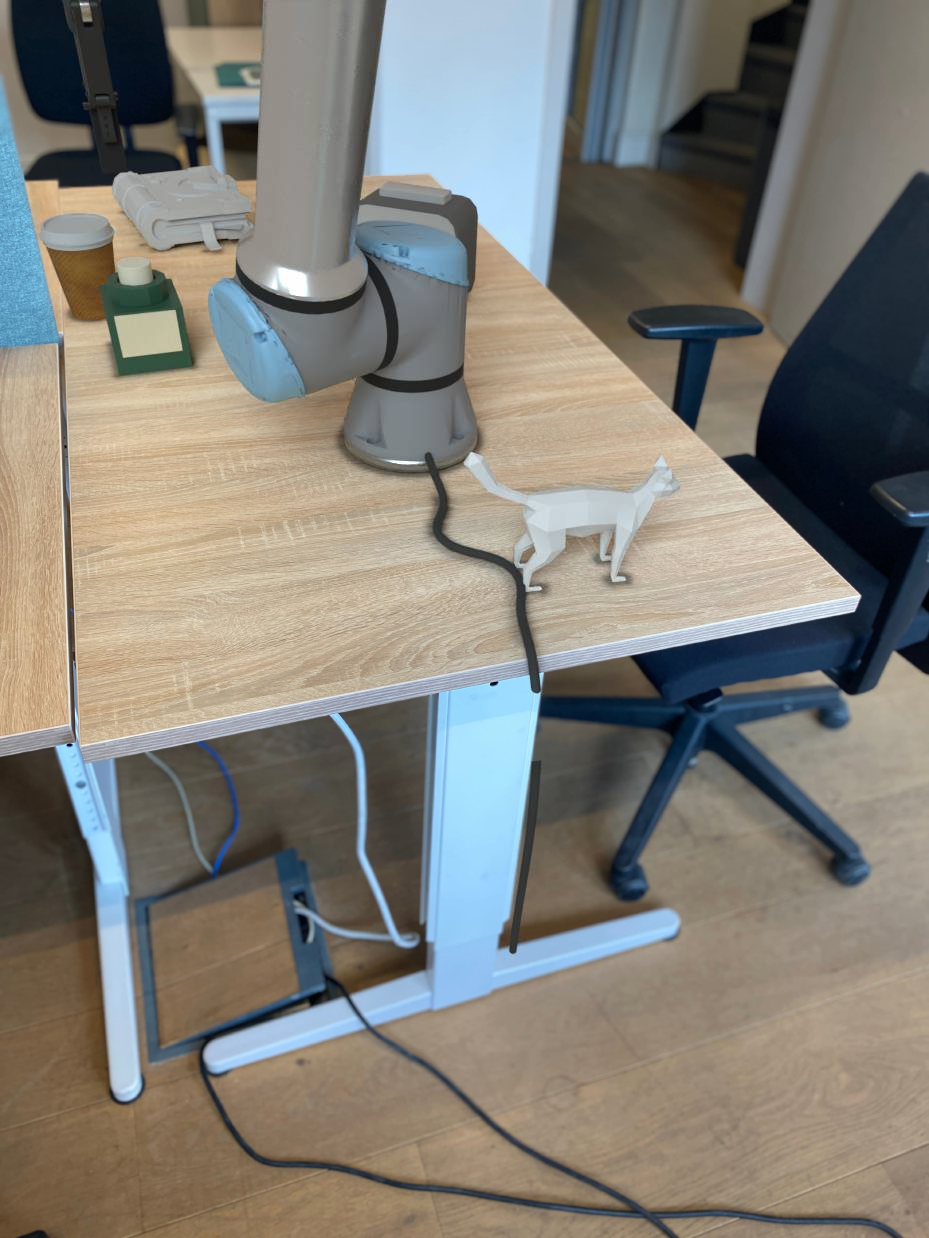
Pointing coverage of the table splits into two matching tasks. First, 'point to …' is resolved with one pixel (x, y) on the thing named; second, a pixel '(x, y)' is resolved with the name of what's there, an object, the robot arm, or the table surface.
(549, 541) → the cat figurine
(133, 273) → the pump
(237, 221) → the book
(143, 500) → the table surface
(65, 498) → the table surface
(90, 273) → the disposable coffee cup
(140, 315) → the bottle label
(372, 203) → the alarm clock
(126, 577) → the table surface
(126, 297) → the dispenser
